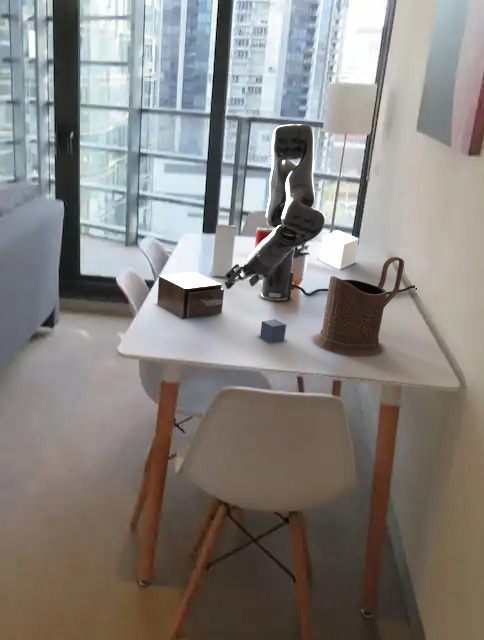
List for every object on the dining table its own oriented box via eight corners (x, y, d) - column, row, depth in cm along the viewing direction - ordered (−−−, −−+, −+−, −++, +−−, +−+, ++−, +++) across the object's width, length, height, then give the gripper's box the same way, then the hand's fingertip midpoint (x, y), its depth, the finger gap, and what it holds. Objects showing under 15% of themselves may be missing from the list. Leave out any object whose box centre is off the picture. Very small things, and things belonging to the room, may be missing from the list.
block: (273, 335, 213) (275, 319, 211) (284, 340, 209) (286, 324, 207) (259, 337, 211) (261, 321, 209) (270, 343, 207) (272, 326, 205)
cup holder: (302, 336, 213) (314, 253, 204) (366, 328, 222) (381, 249, 213) (342, 358, 198) (357, 270, 188) (409, 349, 207) (427, 265, 197)
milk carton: (230, 278, 271) (235, 227, 263) (211, 276, 272) (215, 226, 264) (231, 273, 277) (236, 224, 270) (213, 271, 278) (217, 222, 271)
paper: (321, 268, 291) (325, 243, 287) (317, 252, 317) (320, 228, 313) (358, 271, 289) (362, 246, 285) (351, 254, 315) (355, 231, 311)
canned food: (274, 256, 306) (277, 230, 302) (255, 255, 306) (258, 229, 302) (271, 252, 313) (274, 226, 309) (253, 251, 313) (255, 226, 309)
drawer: (230, 317, 224) (233, 293, 221) (196, 322, 218) (198, 297, 215) (196, 300, 239) (198, 277, 236) (164, 304, 233) (165, 280, 230)
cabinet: (219, 313, 230) (221, 284, 226) (182, 318, 224) (184, 288, 220) (192, 300, 243) (194, 271, 239) (157, 304, 236) (158, 275, 232)
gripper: (283, 241, 198) (253, 271, 211) (242, 244, 191) (214, 275, 205) (294, 264, 195) (263, 293, 209) (252, 269, 189) (223, 298, 203)
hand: (238, 284), depth 207 cm, fingers open, 8 cm apart
